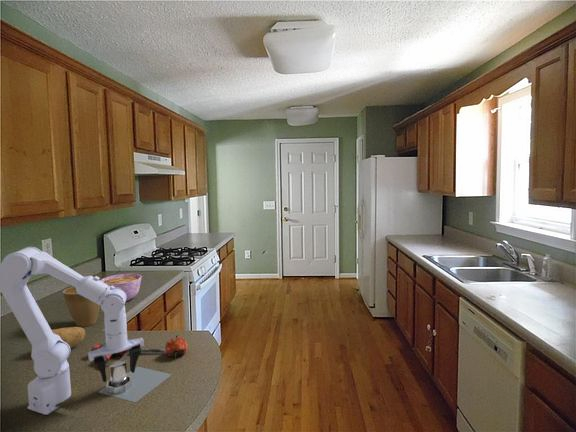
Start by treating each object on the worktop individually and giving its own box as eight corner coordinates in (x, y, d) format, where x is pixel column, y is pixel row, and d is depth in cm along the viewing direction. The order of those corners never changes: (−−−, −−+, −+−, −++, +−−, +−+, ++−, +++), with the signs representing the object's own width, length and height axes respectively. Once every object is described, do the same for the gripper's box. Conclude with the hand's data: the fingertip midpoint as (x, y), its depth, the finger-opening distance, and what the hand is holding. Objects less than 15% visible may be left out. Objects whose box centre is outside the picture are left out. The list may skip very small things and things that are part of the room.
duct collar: (118, 396, 99) (118, 390, 99) (101, 391, 102) (100, 385, 102) (137, 383, 106) (136, 377, 105) (120, 378, 108) (119, 373, 108)
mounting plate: (135, 405, 96) (135, 402, 96) (98, 395, 102) (97, 391, 101) (172, 377, 110) (171, 374, 110) (137, 369, 115) (137, 366, 115)
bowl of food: (92, 305, 178) (90, 283, 177) (117, 293, 197) (116, 273, 196) (127, 307, 174) (126, 284, 173) (150, 294, 194) (149, 274, 193)
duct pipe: (129, 387, 103) (127, 365, 103) (112, 393, 101) (111, 369, 100) (125, 380, 107) (124, 358, 106) (109, 385, 104) (108, 363, 104)
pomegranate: (187, 366, 121) (192, 339, 129) (181, 356, 116) (185, 329, 124) (166, 368, 122) (172, 341, 129) (159, 359, 117) (165, 331, 124)
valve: (76, 375, 116) (100, 348, 131) (153, 378, 116) (169, 351, 130) (73, 358, 115) (99, 332, 129) (152, 362, 114) (168, 335, 129)
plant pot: (107, 315, 164) (105, 282, 162) (101, 327, 150) (99, 291, 148) (71, 319, 159) (68, 285, 158) (61, 332, 145) (58, 295, 143)
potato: (85, 350, 129) (83, 329, 128) (39, 359, 123) (37, 337, 123) (87, 340, 138) (86, 320, 137) (44, 347, 132) (43, 326, 131)
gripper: (138, 320, 110) (140, 362, 111) (85, 333, 101) (88, 378, 102) (145, 327, 104) (147, 371, 105) (89, 342, 95) (92, 389, 96)
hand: (118, 375), depth 103 cm, fingers open, 7 cm apart
